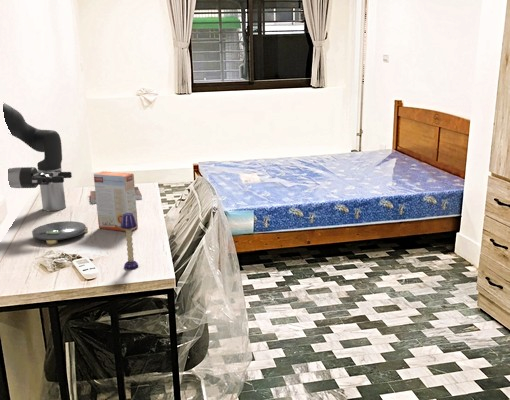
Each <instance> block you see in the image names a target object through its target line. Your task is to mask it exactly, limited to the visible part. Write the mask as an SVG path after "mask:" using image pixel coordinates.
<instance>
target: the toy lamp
mask: <svg viewBox="0 0 510 400" xmlns="http://www.w3.org/2000/svg"><path fill="white" fill-rule="evenodd" d="M136 226H137V224H136V221H135V218H134V215H133V213H124V214H123V216H122V221H121V228H123V229H126V231H125V236H126V239H125V240H126V247H127V248H126V250H127V254H126V255H127V261H126V262H125V263H124V266H123V268H124V269H125V270H134V269H135V270H136V269H137V268H138V267H139V264H138V262H137V261H136V260H135V258H134V246H133V244H134V243H133V233H132V231H133V230H132V228H135V227H136Z"/></svg>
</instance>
